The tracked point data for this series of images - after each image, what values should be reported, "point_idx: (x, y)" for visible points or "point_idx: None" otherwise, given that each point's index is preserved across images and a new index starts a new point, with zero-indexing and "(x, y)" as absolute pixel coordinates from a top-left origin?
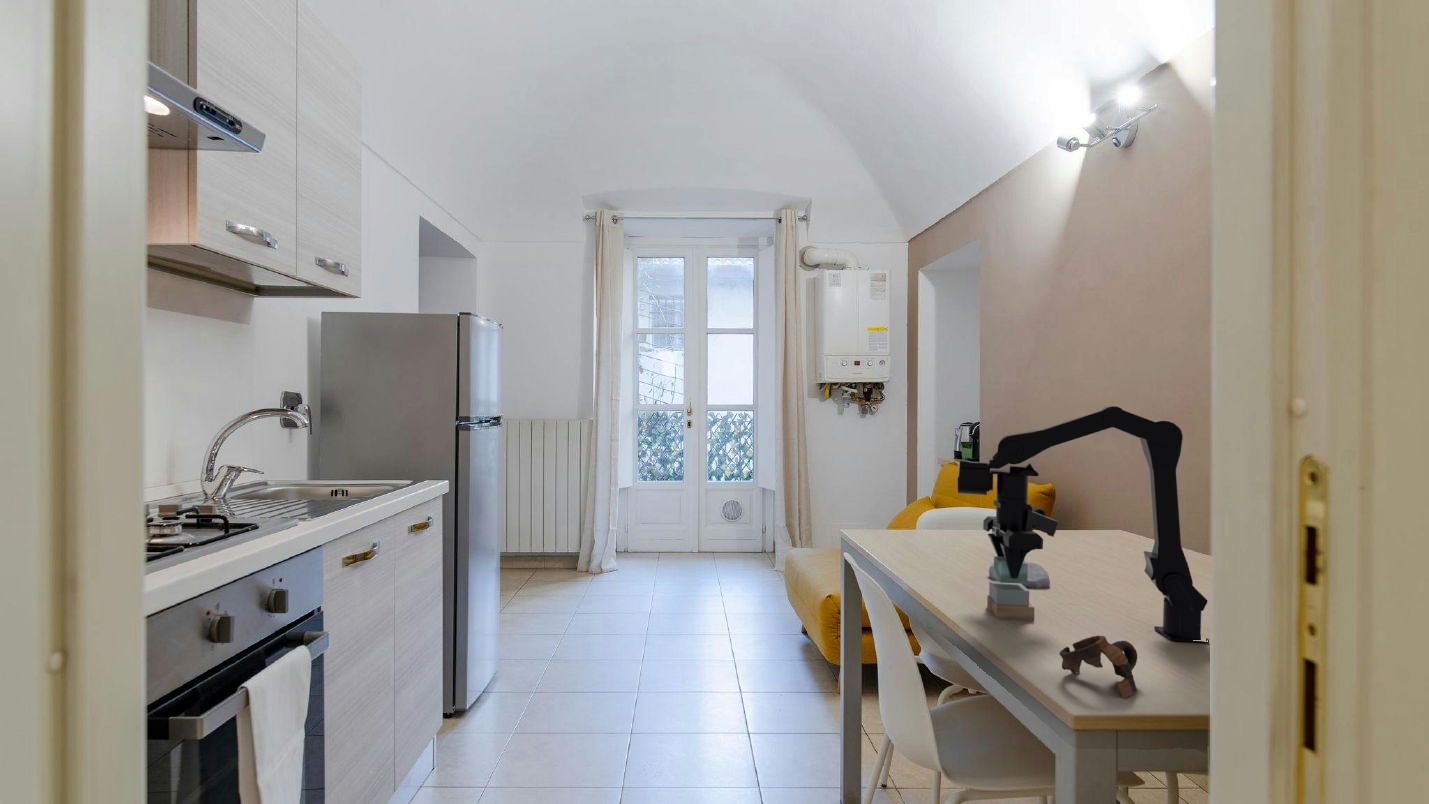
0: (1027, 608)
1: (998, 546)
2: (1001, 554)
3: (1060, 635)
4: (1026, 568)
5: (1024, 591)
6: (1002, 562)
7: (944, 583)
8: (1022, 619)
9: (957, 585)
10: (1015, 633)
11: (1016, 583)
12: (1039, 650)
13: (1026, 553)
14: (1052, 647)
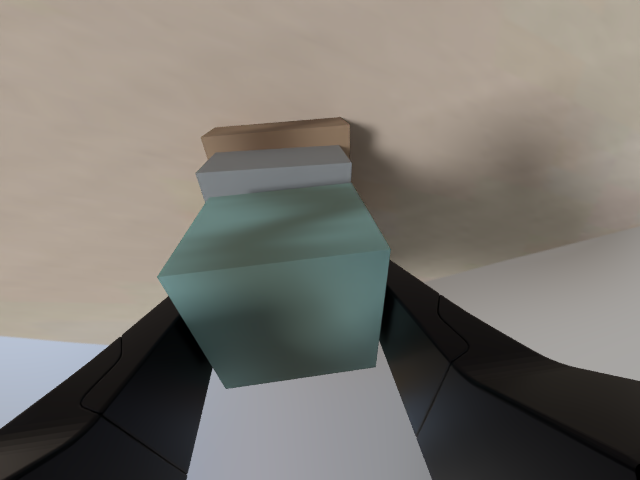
0: (348, 151)
1: (175, 461)
2: (198, 379)
3: (483, 62)
4: (374, 232)
5: (350, 182)
6: (375, 363)
7: (46, 310)
8: None
9: (37, 284)
10: (452, 198)
11: (225, 195)
12: (567, 167)
13: (568, 370)
14: (562, 126)
